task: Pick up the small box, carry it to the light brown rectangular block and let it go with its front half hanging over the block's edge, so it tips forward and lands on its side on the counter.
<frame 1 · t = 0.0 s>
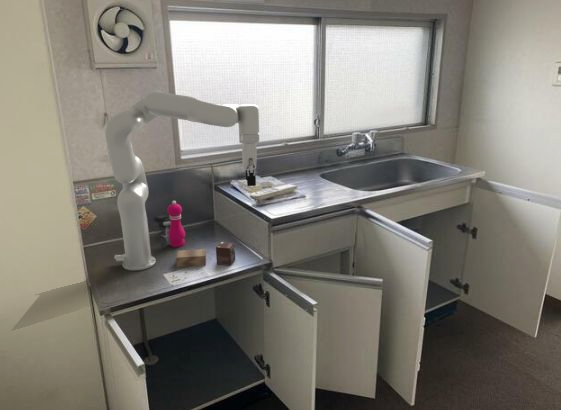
hand: (250, 182, 171), 31 cm above the countertop, fingers open, 9 cm apart
light brown rectangular block: (191, 262, 176), on the countertop
pepper mill: (177, 244, 195), on the countertop
box: (226, 262, 176), on the countertop
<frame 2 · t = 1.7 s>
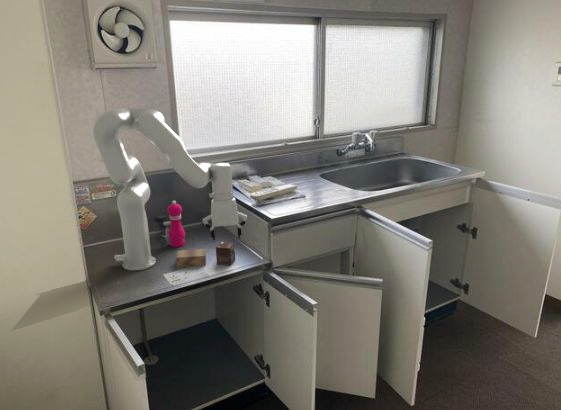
hand: (226, 238, 173), 10 cm above the countertop, fingers open, 9 cm apart
nothing on the countertop moved.
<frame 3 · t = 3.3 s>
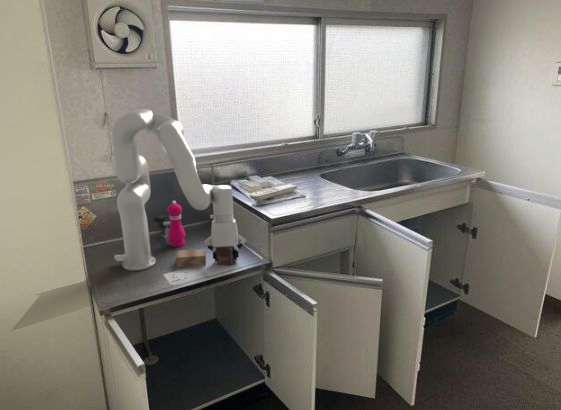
hand: (226, 259, 176), 1 cm above the countertop, fingers closed on box, 7 cm apart
box: (226, 262, 176), on the countertop, touching gripper
everything else where it was.
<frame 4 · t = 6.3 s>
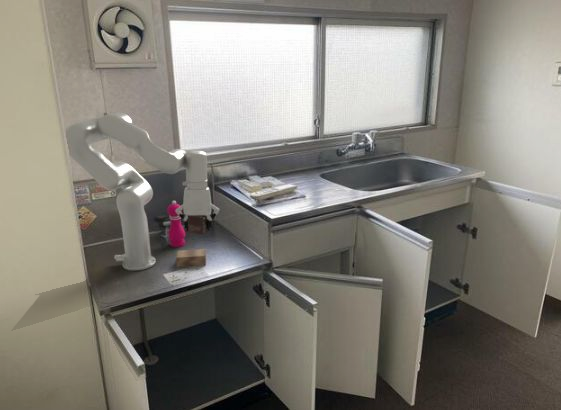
hand: (198, 229, 169), 15 cm above the countertop, fingers closed on box, 7 cm apart
box: (198, 232, 169), point 14 cm above the countertop, touching gripper
everything else where it was.
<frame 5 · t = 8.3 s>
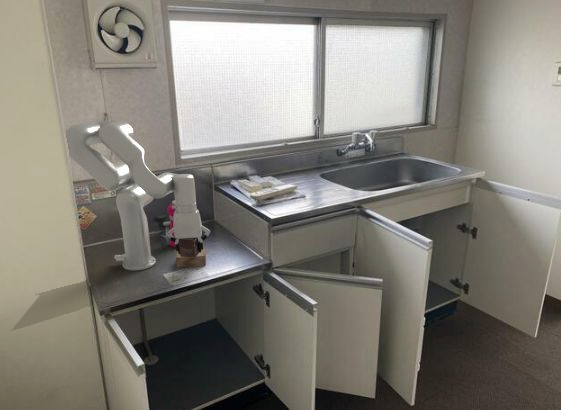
hand: (190, 251, 169), 7 cm above the countertop, fingers closed on box, 7 cm apart
box: (190, 254, 170), point 5 cm above the countertop, touching gripper
everything else where it was.
when the fingers open (6 cm above the countertop, at t = 9.4 s): box drops 2 cm, point 3 cm above the countertop.
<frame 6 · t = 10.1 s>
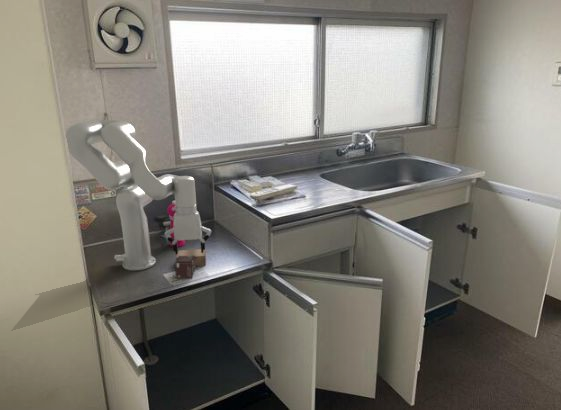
hand: (189, 252, 169), 7 cm above the countertop, fingers open, 9 cm apart
box: (187, 262, 169), point 3 cm above the countertop
everything else where it was.
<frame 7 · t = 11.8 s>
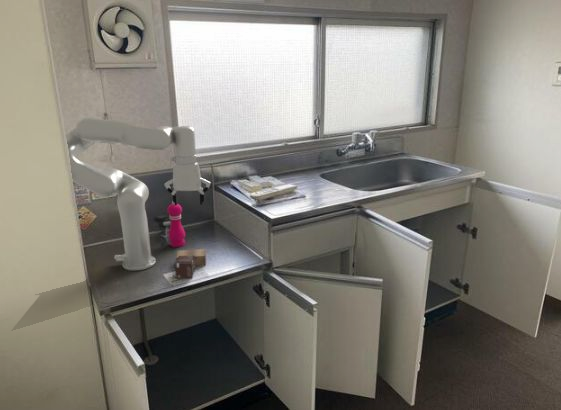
hand: (189, 204, 170), 24 cm above the countertop, fingers open, 9 cm apart
nothing on the countertop moved.
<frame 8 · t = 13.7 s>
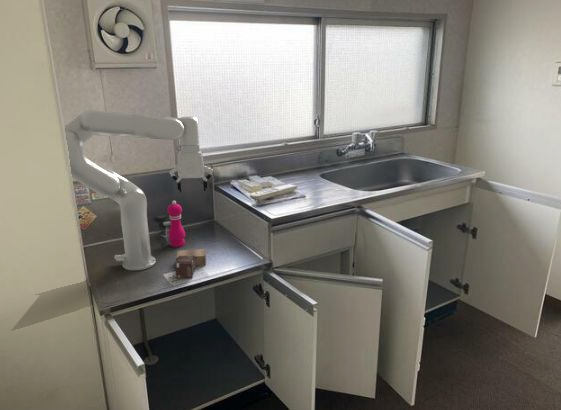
hand: (192, 190, 179), 26 cm above the countertop, fingers open, 9 cm apart
nothing on the countertop moved.
at the end: box tilted 90°; box inside the target area (1.1 cm from its centre), point 3.0 cm above the countertop; the gripper is holding nothing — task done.
